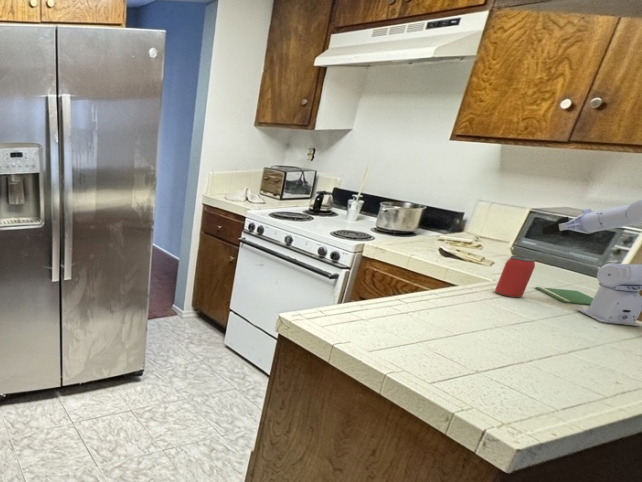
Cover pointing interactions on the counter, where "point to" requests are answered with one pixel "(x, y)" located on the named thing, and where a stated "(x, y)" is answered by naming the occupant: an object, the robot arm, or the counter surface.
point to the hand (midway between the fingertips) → (555, 229)
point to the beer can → (515, 276)
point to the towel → (567, 296)
